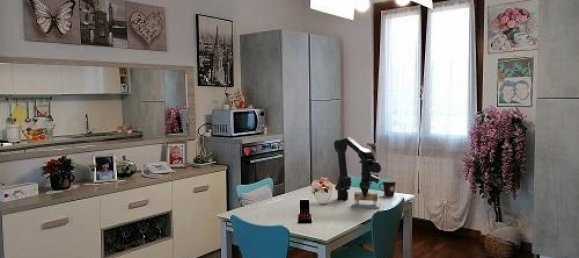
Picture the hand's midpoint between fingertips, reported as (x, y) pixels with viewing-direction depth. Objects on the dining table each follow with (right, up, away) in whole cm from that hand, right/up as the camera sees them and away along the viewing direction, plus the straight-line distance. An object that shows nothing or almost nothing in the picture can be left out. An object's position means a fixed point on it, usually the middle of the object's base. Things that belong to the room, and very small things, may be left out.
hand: (365, 195), depth 281 cm
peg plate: (0, -6, 0) cm, 6 cm away
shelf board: (0, -2, 0) cm, 2 cm away
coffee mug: (+19, -4, +29) cm, 35 cm away
